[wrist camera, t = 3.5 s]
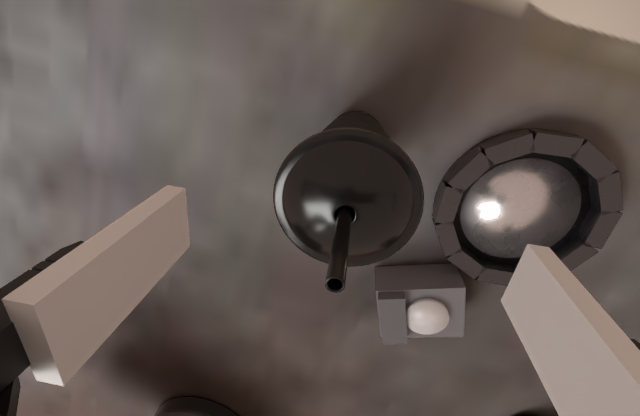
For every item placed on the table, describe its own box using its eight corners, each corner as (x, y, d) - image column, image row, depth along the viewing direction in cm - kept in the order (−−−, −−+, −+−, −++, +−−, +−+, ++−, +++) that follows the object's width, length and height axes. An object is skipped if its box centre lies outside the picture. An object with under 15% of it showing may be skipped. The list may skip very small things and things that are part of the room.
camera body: (379, 309, 37) (380, 345, 33) (374, 265, 35) (375, 298, 30) (454, 308, 36) (466, 345, 31) (455, 261, 33) (468, 295, 29)
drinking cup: (389, 186, 30) (419, 382, 13) (307, 172, 31) (225, 343, 13) (409, 100, 27) (491, 202, 9) (317, 86, 28) (224, 157, 10)
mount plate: (416, 257, 33) (420, 271, 31) (458, 117, 27) (465, 122, 25) (561, 281, 32) (573, 296, 30) (637, 141, 26) (659, 149, 24)
